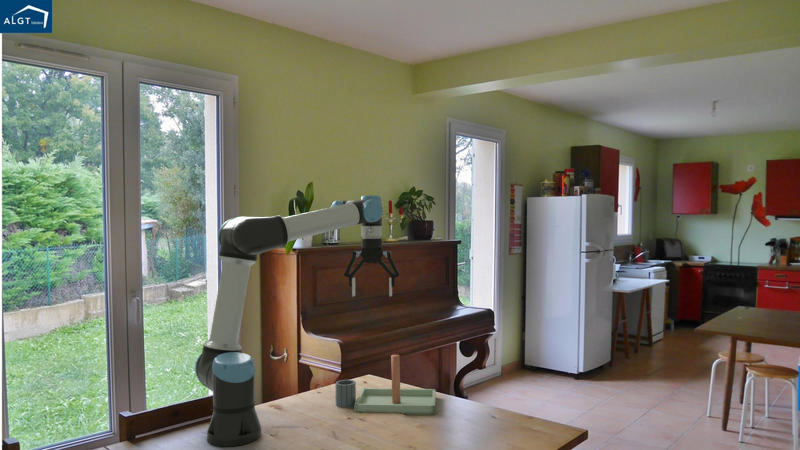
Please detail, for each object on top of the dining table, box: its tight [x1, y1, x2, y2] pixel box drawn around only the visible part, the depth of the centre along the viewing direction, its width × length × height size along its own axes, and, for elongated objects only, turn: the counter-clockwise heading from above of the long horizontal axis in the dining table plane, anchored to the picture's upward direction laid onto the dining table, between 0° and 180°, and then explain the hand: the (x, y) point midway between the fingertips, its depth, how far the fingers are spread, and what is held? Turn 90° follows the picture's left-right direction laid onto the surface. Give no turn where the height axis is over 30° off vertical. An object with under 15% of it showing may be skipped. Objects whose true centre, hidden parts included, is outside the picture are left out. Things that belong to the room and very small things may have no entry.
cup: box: [335, 379, 357, 409], centre depth 193 cm, size 7×7×8 cm
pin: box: [390, 354, 401, 404], centre depth 193 cm, size 6×3×16 cm, turn 85°
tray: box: [353, 387, 437, 416], centre depth 193 cm, size 26×18×3 cm
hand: (372, 295), depth 210 cm, fingers open, 13 cm apart
